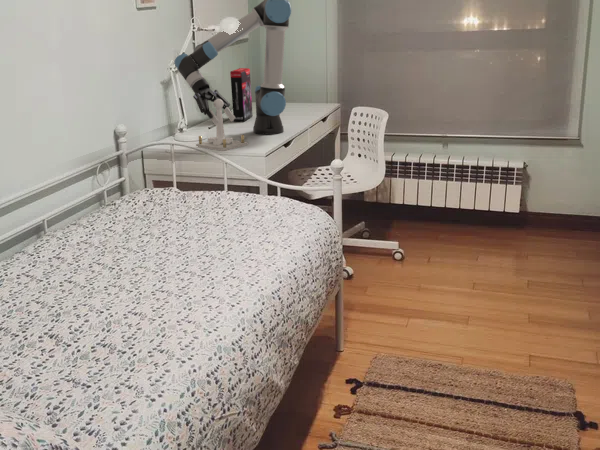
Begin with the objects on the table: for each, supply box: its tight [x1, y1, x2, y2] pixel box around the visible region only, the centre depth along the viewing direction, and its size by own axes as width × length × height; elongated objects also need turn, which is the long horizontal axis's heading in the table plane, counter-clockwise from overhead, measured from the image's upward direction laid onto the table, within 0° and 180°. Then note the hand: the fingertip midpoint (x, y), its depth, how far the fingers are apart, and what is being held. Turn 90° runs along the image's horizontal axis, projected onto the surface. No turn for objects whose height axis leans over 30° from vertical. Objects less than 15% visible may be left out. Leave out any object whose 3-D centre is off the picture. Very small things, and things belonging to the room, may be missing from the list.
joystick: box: [207, 99, 234, 145], centre depth 311 cm, size 11×8×20 cm
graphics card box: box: [230, 67, 253, 123], centre depth 379 cm, size 17×7×27 cm, turn 168°
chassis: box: [195, 134, 249, 152], centre depth 315 cm, size 16×17×5 cm
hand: (225, 121), depth 310 cm, fingers open, 10 cm apart
